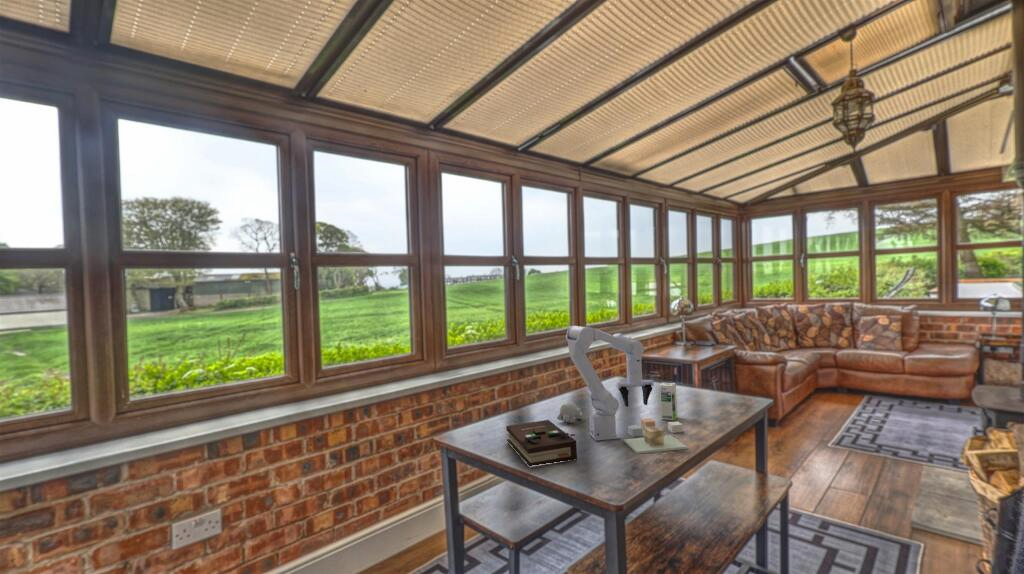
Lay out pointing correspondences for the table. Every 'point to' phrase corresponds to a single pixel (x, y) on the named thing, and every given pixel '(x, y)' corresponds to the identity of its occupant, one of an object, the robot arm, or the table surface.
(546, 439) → the decorative book
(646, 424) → the terracotta block
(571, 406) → the toy rhinoceros
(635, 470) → the table surface
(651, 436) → the maple block
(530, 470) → the table surface
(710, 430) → the table surface
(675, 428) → the light grey block
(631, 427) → the grey-blue block
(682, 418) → the table surface
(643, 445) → the sage board
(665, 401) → the syrup box
